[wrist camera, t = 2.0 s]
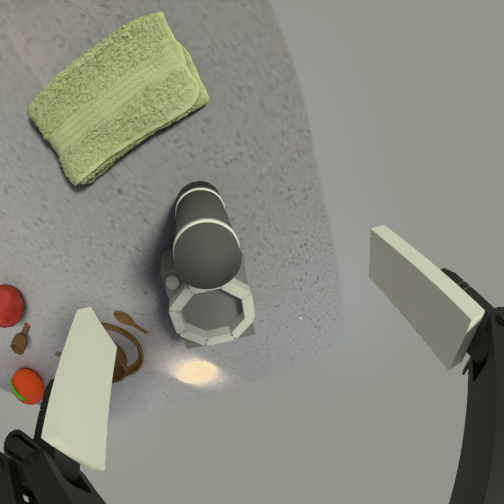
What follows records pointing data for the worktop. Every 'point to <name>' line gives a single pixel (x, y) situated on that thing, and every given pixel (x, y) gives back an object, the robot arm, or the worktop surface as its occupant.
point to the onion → (10, 306)
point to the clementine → (27, 386)
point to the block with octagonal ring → (208, 307)
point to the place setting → (120, 360)
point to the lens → (204, 238)
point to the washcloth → (117, 97)
